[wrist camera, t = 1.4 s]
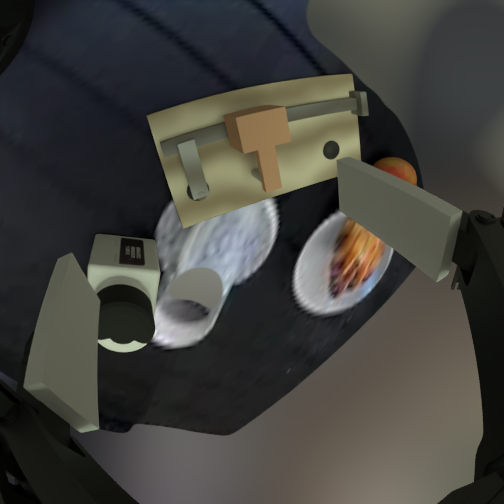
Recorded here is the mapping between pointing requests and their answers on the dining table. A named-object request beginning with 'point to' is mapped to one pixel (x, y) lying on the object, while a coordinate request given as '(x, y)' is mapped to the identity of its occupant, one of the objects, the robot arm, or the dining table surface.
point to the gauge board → (241, 165)
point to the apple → (397, 169)
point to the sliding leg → (260, 139)
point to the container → (124, 290)
